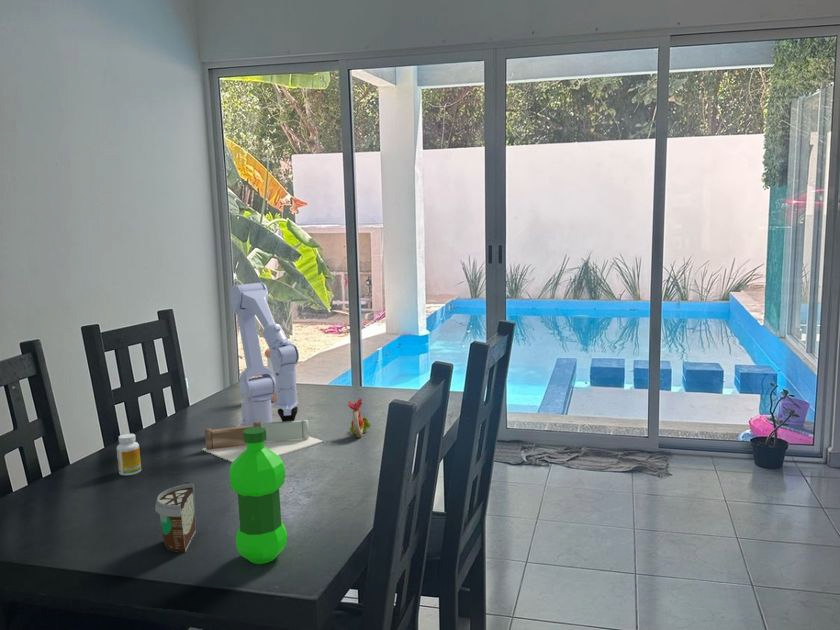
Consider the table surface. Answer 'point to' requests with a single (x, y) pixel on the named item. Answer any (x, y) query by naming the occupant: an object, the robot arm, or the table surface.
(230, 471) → the plastic bottle
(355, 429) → the bird rattle
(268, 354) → the pepper shaker
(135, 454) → the supplement bottle
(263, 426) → the fence gate
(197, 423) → the table surface
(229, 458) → the board
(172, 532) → the food container
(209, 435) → the bar
